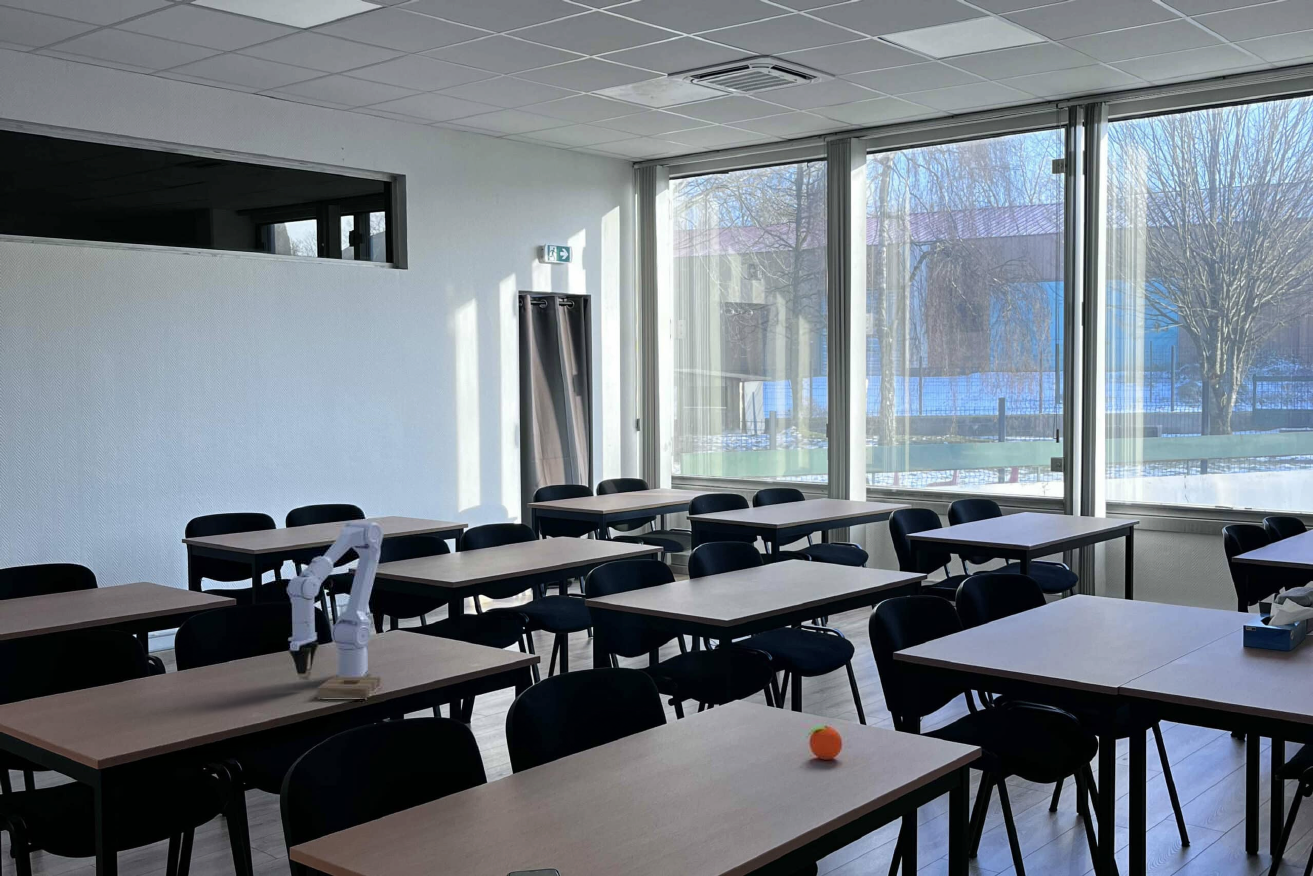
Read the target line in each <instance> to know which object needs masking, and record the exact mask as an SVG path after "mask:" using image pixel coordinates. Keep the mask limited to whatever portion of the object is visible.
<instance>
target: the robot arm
mask: <svg viewBox="0 0 1313 876" xmlns="http://www.w3.org/2000/svg"><path fill="white" fill-rule="evenodd" d="M383 539H384V531H383V530H382V527H381V526H380V524H379V523H378V522H376V521H375V522H374V521H371V522H365V521H355V520H350V521H347V522H346V523H345V524H344V526H343V527H342V528H341V529H340V535H339V536H338V537H336V539H335V541H334V542H333V543H332V545H331V546H330V547H329V549H327V551H326V552H325V553H324V555H323V556H321V555H320V556H316V557H313V559H311V562H310V563H309V564H308V565H307V567H306V568H305V569H304V570H302V571H301V572H300V574H299V575H297V576H294V577H293V578H292V579H290V581H289V582H288V585H287V587H286V593H287V594H288V596H289V599H290V603H291V609H292V610H291V616H292V617H291V620H292V621H291V622H292V625H291V626H292V636H290V637H288V639H287V641H288V642H290V643H289V645H290V646H289V647H288V653H289V654H290V655H291V657H292V659H293V662H294V665H295V669H296V673H297V675H298V674H305V673H306V671H307V663H308V657H309V654H310V667H311V669H312V668H313V664H314V663H313V662H314V656H315V654H316V652H317V649H318V647H319V645H320V644H319V643H320V642H318V641H317V640H318V636H317V635H318V632H316V628H315V627H316V625H315V624H316V622H315V621H316V620H315V615H316V614H315V597H316V596H318V595H319V592H320V587H321V585H322V583H323V582H324V581H325V580H326V579H327V577H329V576H330V575H331V574H332V572H333V570H334V564H335V563H337V561H338V560H339V559H341V558H342V556H344V554H345V553H346V552H347V551H349V550H350V549H351V548H352V549H353V551H355V552H356V553H357V554H358V556H359V558H358V562H357V566H356V570H355V572H354V573H355V574H354V577H353V582H352V586H351V589H350V593H349V597H348V600H347V601H348V602H347V605H346V609H345V611H343V612H342V613H341V614H339V616H337V620H336V623H335V624H334V626H333V627H332V630H331V639H332V641H333V643H335V647H336V648H337V673H338V675H337V676H339V677H359V676H363V675H364V674H365V672H366V671H367V670H368V671H369V668H368V663H369V662H368V660H369V659H368V649H367V645H368V643H369V641H370V639H371V626H372V625H371V624H372V621H371V620H370V618H368V616H367V614H366V613H367V609H368V606H369V601H370V598H371V593H372V589H373V586H374V581H375V577H376V573H377V570H378V566H379V561H380V558H381V545H382V542H383Z"/></svg>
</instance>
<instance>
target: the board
mask: <svg viewBox="0 0 1313 876" xmlns="http://www.w3.org/2000/svg"><path fill="white" fill-rule="evenodd" d="M381 678H382V677H381V676H367V677H337V676H332V677H331V678H330V679H329V678H328V680H326V681H325V682H324V683H322V684H321V685H320V686H318V687H317V688H316V699H317V698H361V699H365V700H364V701H367V700H368V699H367V697H368V696H369V694H371V693H372V692H373V691H374V690H375V689H376V688H377V687H379V686H380V684H381V685H382V679H381Z"/></svg>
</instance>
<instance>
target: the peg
mask: <svg viewBox="0 0 1313 876" xmlns="http://www.w3.org/2000/svg"><path fill="white" fill-rule="evenodd" d="M311 671H312V668H311V667H310V654H309V657H308V663H307V671H306V673H305V674H298V673H297V676H298V678H299V681H300V682H307V681H308V682H309V681H310V676H311V673H312V672H311Z"/></svg>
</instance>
